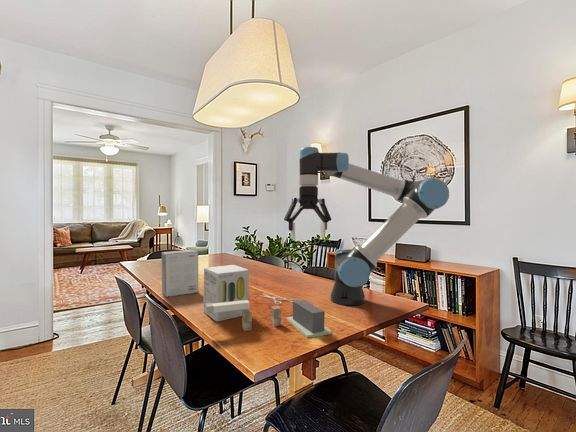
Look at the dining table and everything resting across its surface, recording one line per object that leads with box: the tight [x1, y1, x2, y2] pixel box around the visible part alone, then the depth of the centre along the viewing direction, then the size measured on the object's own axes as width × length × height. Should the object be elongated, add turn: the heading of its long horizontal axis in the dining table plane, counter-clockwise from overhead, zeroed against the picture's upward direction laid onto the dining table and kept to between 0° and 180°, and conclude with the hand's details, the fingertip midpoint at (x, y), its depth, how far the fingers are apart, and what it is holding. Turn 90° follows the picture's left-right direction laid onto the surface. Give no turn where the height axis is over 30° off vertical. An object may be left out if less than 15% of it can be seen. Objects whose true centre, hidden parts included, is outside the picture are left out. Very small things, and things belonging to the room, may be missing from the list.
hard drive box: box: [161, 249, 199, 298], centre depth 145 cm, size 16×8×20 cm, turn 123°
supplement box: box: [203, 264, 250, 323], centre depth 117 cm, size 13×13×18 cm
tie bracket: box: [241, 305, 282, 331], centre depth 105 cm, size 13×3×6 cm, turn 112°
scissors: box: [255, 292, 298, 305], centre depth 139 cm, size 11×1×20 cm
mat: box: [286, 316, 333, 339], centre depth 105 cm, size 9×17×1 cm, turn 22°
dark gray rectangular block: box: [292, 299, 326, 333], centre depth 105 cm, size 4×14×6 cm, turn 26°
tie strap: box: [205, 300, 251, 315], centre depth 100 cm, size 14×4×2 cm, turn 112°
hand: (308, 238), depth 123 cm, fingers open, 13 cm apart
